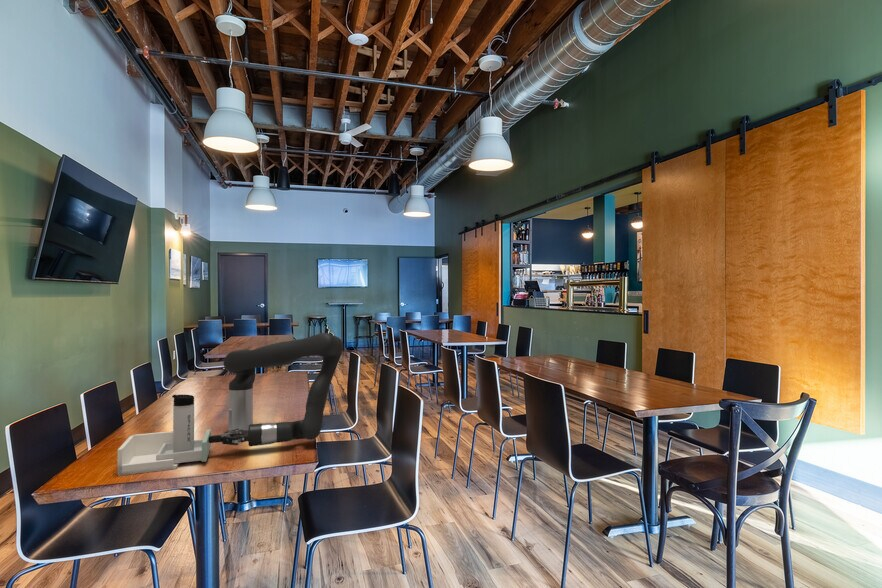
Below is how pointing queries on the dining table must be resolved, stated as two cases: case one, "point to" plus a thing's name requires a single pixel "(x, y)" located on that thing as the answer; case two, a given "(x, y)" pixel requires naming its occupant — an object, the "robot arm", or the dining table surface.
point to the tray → (198, 454)
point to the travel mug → (183, 423)
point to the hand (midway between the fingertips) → (209, 439)
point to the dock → (144, 454)
